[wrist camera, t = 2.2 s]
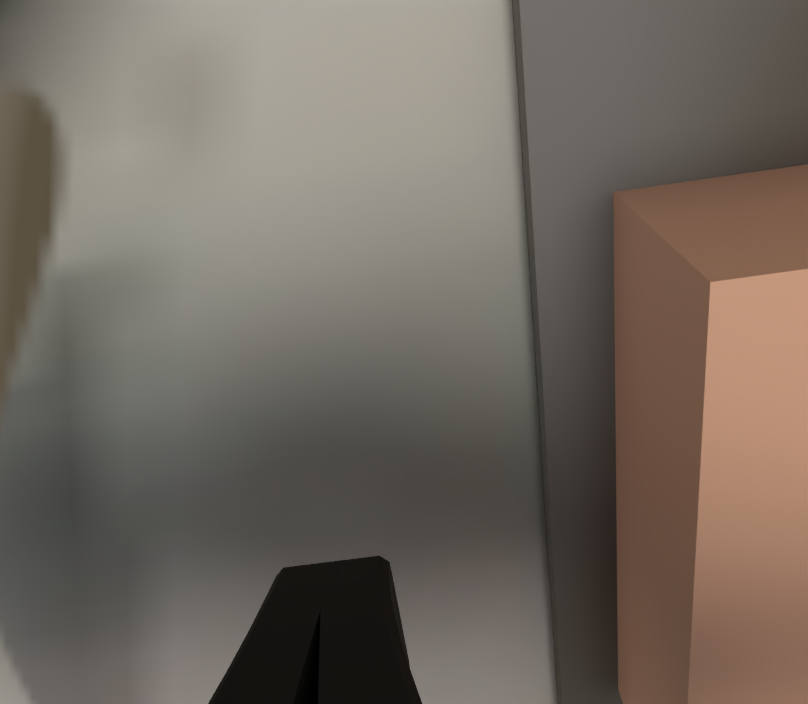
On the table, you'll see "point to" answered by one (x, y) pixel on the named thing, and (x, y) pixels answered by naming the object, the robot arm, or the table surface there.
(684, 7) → the t frame
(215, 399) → the table surface
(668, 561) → the t block
